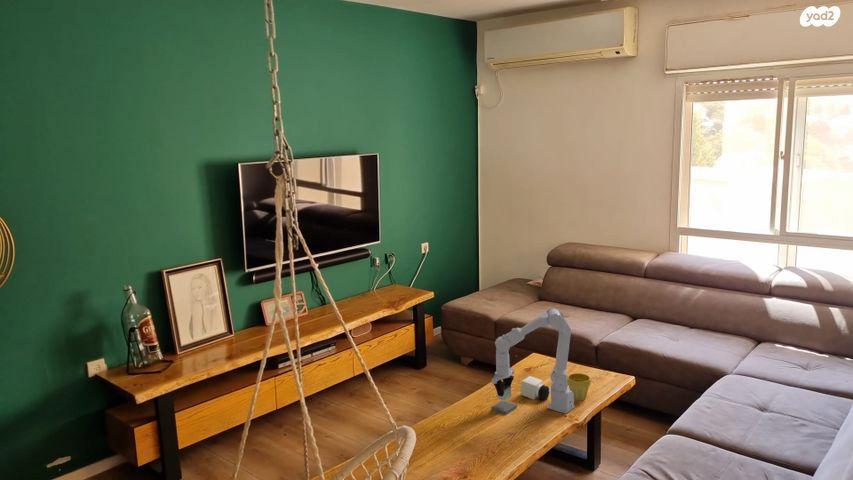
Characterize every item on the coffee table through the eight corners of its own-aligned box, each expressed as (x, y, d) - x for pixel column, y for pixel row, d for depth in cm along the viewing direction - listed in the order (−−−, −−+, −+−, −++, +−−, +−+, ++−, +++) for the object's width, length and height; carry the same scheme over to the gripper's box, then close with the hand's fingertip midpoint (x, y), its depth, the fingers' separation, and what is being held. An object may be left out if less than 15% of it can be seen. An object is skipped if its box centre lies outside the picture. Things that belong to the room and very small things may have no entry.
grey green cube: (511, 397, 287) (510, 386, 286) (505, 401, 283) (505, 390, 283) (502, 395, 290) (502, 384, 289) (496, 398, 286) (496, 388, 286)
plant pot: (595, 399, 293) (595, 379, 291) (575, 404, 289) (575, 383, 287) (581, 391, 302) (581, 371, 300) (562, 395, 298) (562, 375, 297)
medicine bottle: (520, 394, 300) (543, 403, 292) (521, 380, 298) (544, 389, 291) (528, 389, 305) (551, 398, 298) (529, 375, 303) (552, 383, 296)
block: (516, 409, 288) (516, 405, 288) (506, 415, 282) (506, 411, 282) (501, 404, 293) (501, 400, 293) (491, 411, 288) (491, 406, 287)
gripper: (504, 357, 292) (505, 386, 294) (485, 367, 281) (486, 397, 284) (517, 360, 287) (518, 389, 290) (499, 371, 277) (500, 401, 279)
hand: (503, 393), depth 286 cm, fingers closed on grey green cube, 4 cm apart
